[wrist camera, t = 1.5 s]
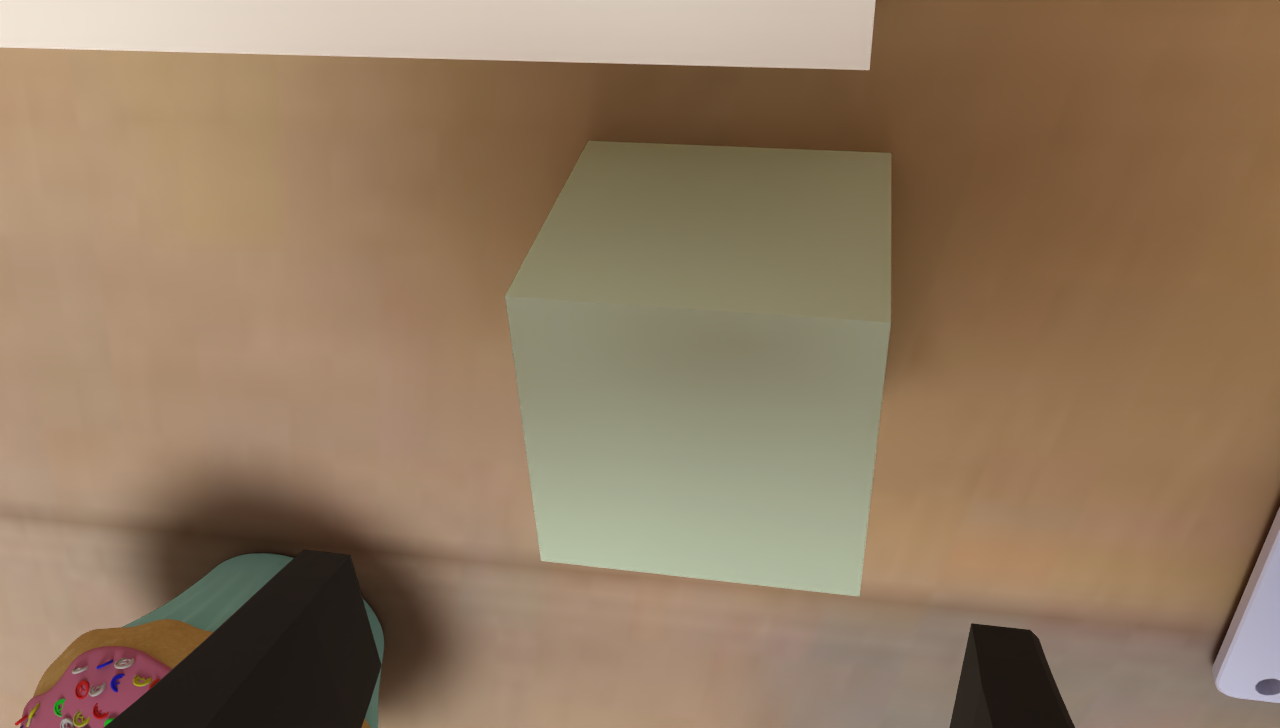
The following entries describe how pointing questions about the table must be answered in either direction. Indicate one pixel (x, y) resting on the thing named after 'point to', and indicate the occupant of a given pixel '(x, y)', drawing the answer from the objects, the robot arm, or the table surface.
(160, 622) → the cupcake
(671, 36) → the cream bin
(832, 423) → the sage block
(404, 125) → the table surface
